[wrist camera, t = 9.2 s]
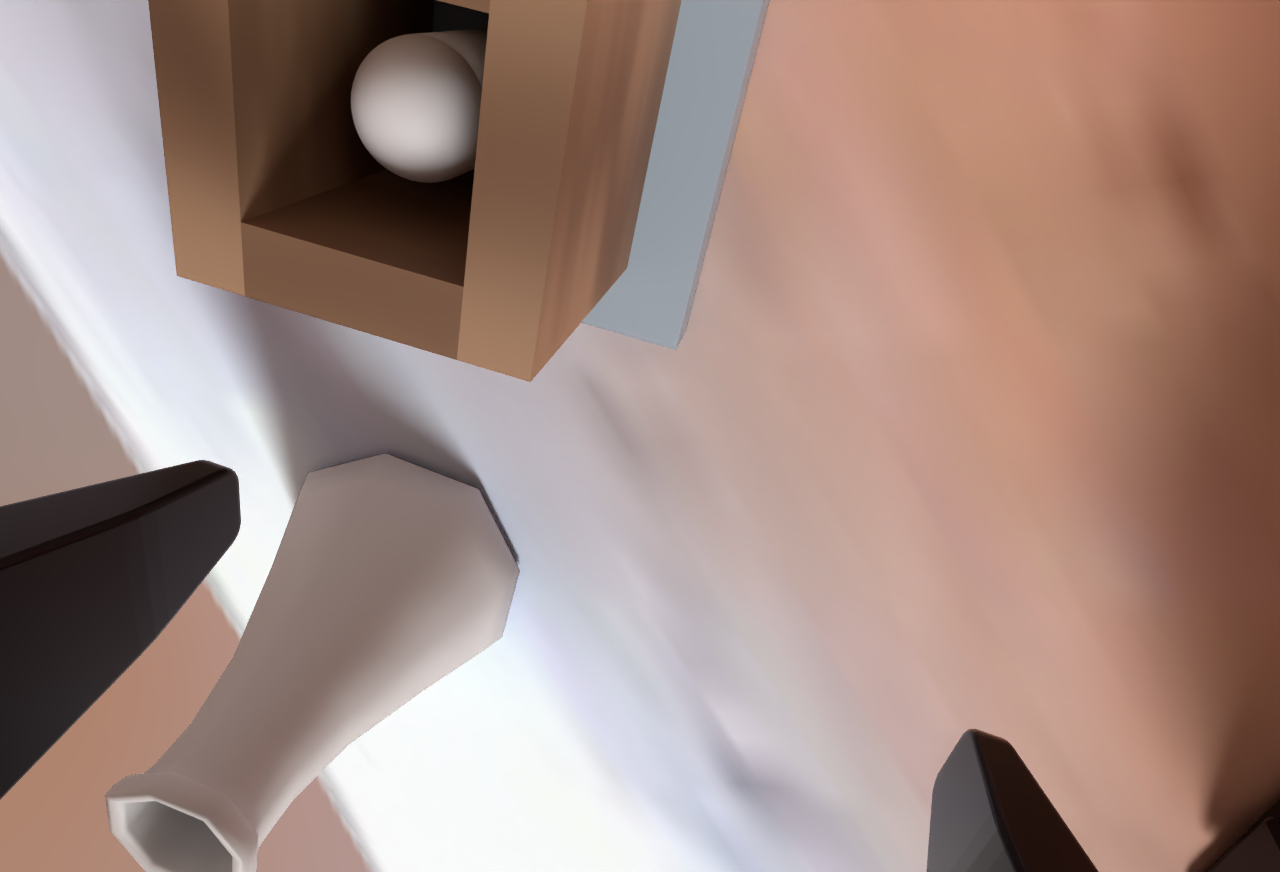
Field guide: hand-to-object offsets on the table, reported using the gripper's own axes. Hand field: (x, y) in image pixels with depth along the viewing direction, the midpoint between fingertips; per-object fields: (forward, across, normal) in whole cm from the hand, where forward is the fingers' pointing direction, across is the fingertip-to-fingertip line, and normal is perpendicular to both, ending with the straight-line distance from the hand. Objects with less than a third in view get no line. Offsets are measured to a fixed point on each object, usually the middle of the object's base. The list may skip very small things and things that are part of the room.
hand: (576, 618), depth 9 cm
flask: (+11, +7, +10) cm, 17 cm away
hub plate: (+11, +5, -4) cm, 12 cm away
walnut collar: (+9, +5, -4) cm, 11 cm away
